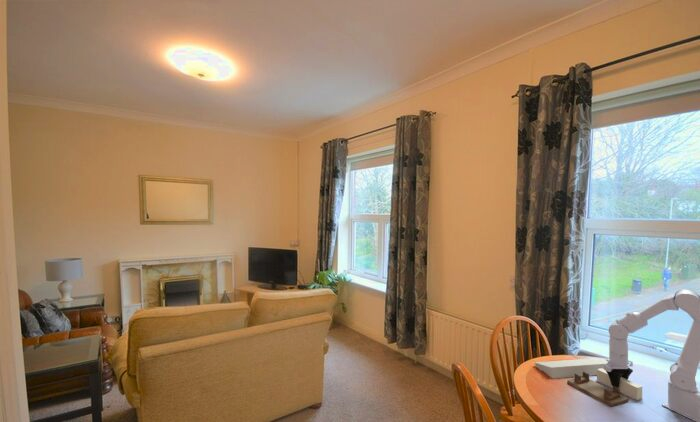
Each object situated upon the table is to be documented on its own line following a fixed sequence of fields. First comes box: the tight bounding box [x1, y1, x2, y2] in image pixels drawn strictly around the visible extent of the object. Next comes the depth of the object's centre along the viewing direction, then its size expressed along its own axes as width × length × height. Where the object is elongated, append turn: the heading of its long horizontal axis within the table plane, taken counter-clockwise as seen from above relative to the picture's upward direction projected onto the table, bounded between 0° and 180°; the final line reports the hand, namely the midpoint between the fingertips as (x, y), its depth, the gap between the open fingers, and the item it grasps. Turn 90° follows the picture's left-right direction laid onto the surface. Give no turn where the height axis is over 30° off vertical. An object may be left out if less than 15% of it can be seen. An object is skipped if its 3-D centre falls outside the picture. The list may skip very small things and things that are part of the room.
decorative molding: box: [534, 357, 608, 380], centre depth 135 cm, size 34×5×10 cm
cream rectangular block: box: [596, 368, 643, 401], centre depth 120 cm, size 14×3×5 cm, turn 19°
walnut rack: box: [566, 371, 629, 408], centre depth 118 cm, size 16×10×4 cm, turn 18°
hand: (618, 385), depth 120 cm, fingers open, 4 cm apart
